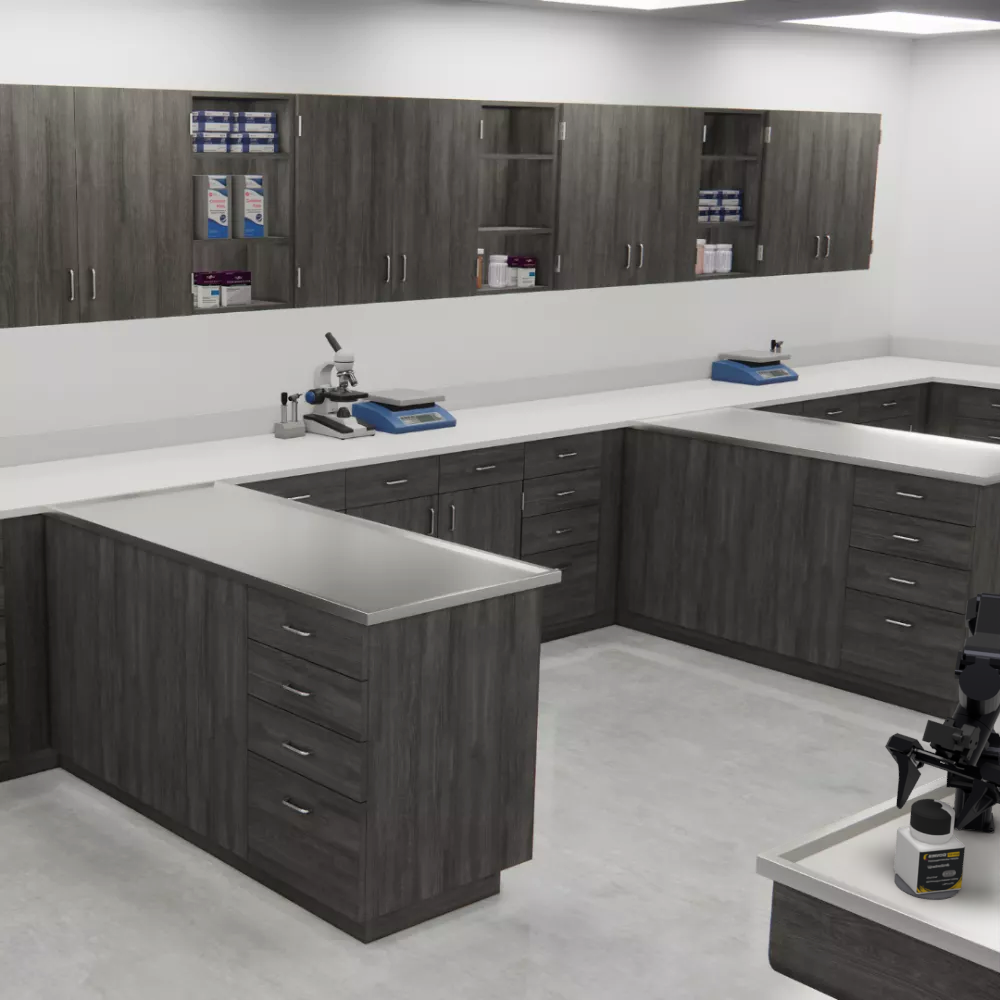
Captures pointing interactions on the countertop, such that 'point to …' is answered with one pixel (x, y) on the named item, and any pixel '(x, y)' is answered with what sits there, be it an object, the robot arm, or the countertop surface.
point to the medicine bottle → (930, 849)
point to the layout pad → (933, 896)
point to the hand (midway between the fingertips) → (927, 818)
